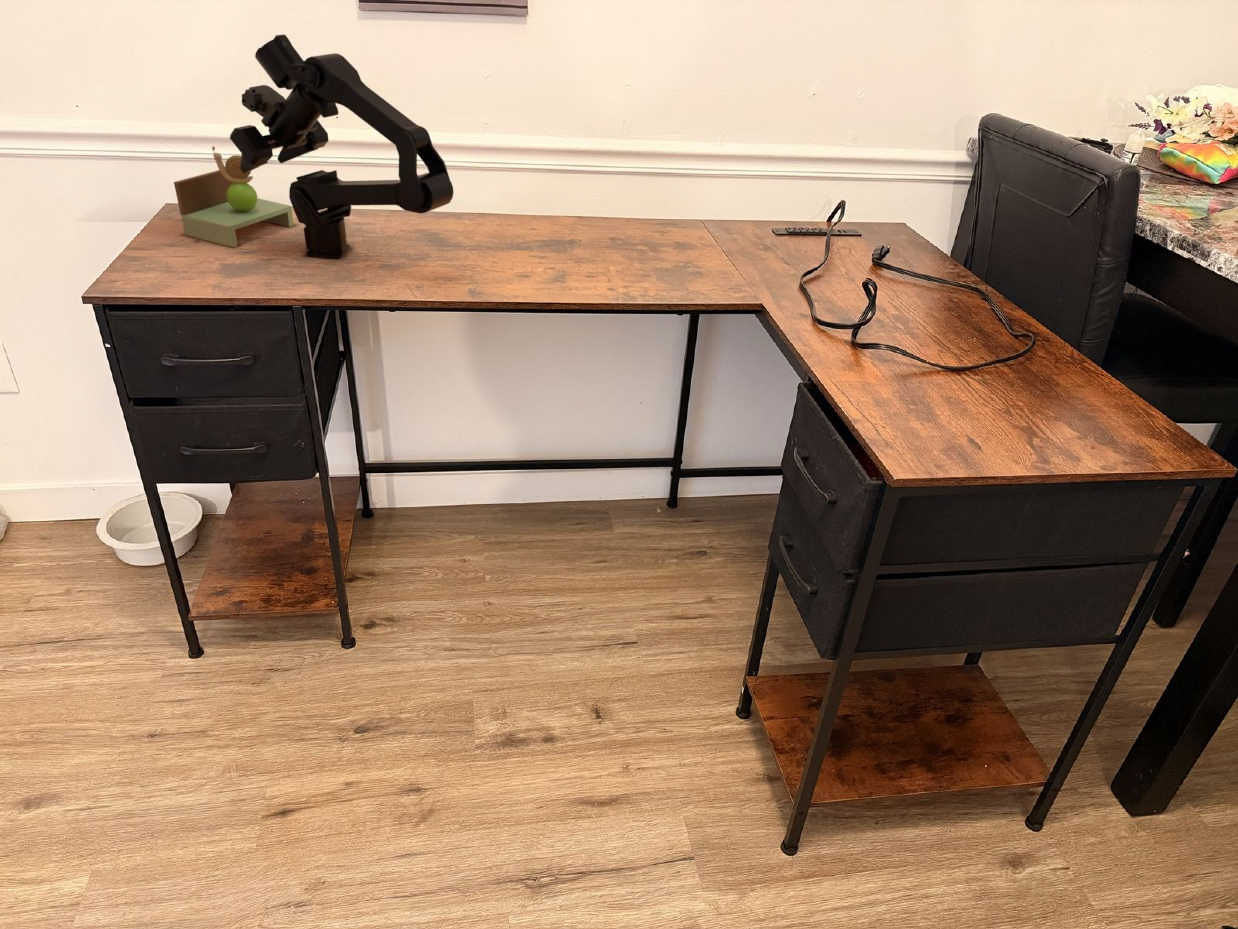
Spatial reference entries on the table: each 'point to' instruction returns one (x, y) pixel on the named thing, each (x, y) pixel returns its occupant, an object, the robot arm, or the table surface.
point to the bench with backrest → (221, 210)
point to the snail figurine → (237, 183)
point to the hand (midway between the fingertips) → (261, 165)
